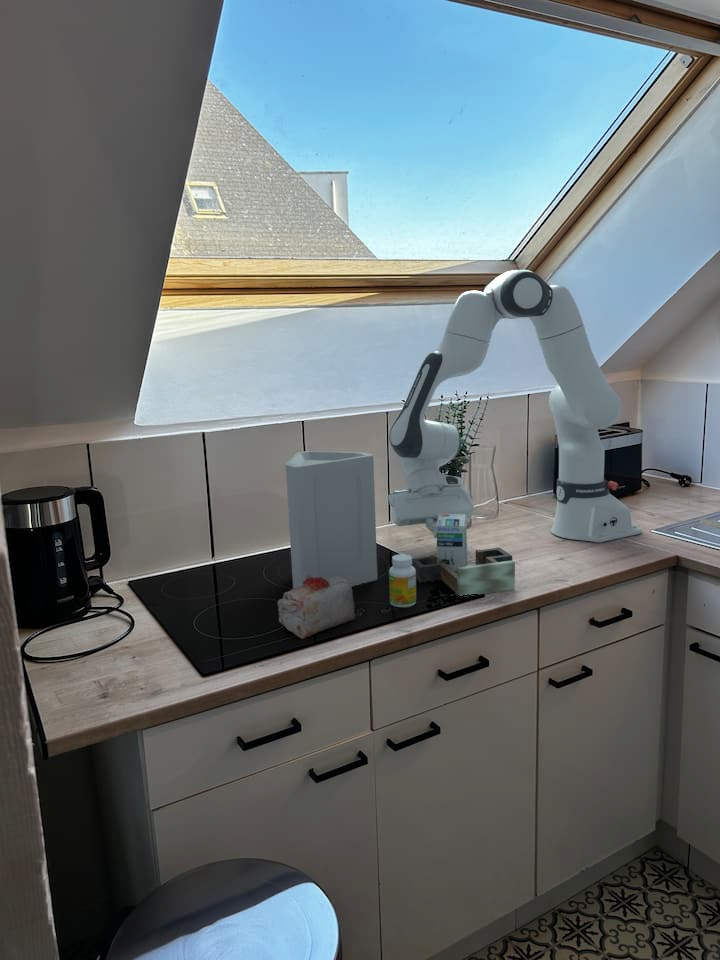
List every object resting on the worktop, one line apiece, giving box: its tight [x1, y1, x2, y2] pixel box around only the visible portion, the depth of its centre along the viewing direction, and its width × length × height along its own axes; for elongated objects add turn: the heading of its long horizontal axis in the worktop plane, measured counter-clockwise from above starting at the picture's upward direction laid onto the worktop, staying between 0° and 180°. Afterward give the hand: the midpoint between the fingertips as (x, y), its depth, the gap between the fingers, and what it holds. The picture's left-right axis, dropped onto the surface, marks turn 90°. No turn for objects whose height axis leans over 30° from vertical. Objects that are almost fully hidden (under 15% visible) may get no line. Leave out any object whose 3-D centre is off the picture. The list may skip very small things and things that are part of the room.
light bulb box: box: [435, 514, 468, 572], centre depth 167 cm, size 11×7×11 cm, turn 171°
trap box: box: [411, 547, 516, 597], centre depth 157 cm, size 22×17×6 cm
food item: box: [277, 574, 356, 640], centre depth 136 cm, size 14×8×10 cm, turn 130°
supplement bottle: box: [388, 553, 417, 608], centre depth 145 cm, size 5×5×10 cm
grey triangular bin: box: [285, 450, 379, 589], centre depth 158 cm, size 19×15×28 cm
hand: (440, 536), depth 173 cm, fingers closed
